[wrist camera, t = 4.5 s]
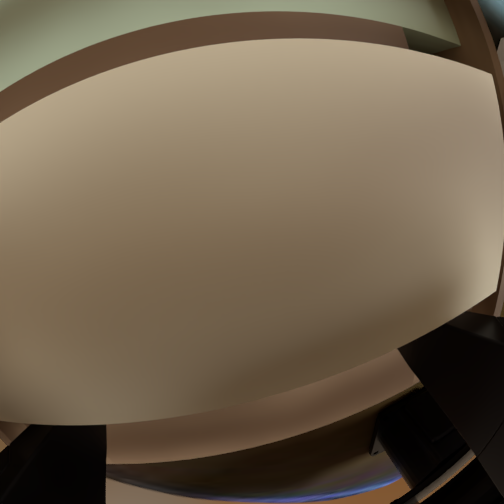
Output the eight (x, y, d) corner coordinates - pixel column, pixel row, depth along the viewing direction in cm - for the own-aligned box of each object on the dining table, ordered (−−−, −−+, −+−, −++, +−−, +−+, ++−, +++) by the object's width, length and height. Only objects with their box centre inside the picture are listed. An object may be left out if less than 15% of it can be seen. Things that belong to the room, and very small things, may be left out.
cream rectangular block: (405, 245, 9) (496, 290, 5) (51, 333, 7) (0, 421, 3) (389, 93, 7) (491, 74, 3) (-1, 182, 6) (-97, 206, 2)
